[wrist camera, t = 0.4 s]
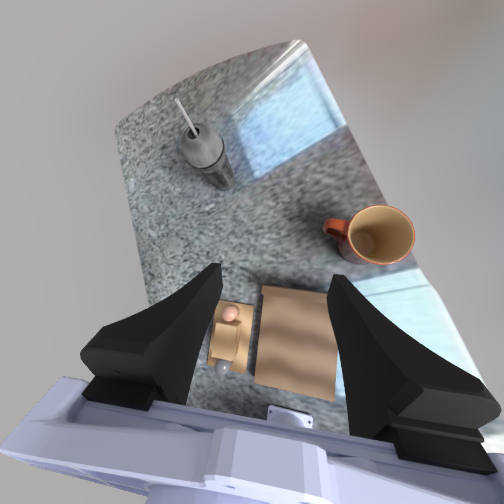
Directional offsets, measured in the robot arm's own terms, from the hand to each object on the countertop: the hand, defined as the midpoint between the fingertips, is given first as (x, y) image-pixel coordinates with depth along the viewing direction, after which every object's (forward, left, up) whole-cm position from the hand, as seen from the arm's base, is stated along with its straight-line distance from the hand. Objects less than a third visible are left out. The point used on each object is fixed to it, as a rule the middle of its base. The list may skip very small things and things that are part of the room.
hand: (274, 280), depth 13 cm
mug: (+8, -12, -28) cm, 31 cm away
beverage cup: (+20, +15, -28) cm, 38 cm away
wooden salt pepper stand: (-13, +10, -28) cm, 32 cm away
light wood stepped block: (-11, -4, -27) cm, 29 cm away
